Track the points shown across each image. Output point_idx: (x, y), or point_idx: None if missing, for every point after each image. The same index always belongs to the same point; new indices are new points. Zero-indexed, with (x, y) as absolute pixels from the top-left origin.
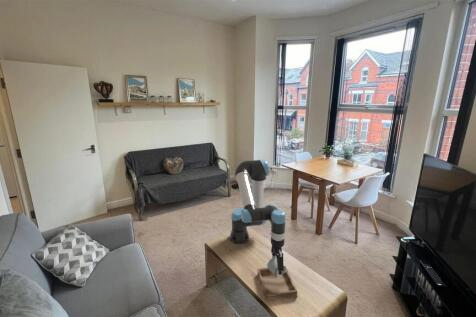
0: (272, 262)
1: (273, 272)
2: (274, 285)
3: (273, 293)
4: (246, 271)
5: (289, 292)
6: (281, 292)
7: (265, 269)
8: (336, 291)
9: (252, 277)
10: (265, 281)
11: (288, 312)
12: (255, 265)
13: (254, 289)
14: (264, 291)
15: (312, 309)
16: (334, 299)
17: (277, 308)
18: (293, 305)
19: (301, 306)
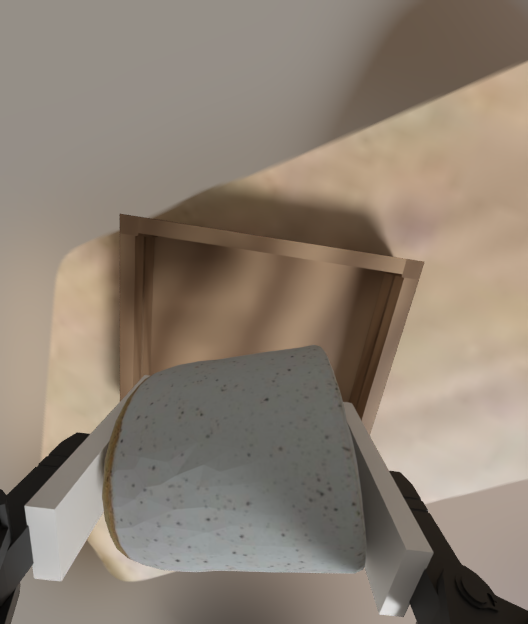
0: (268, 481)
1: (158, 381)
2: (244, 330)
3: (126, 285)
4: (463, 177)
5: (120, 395)
6: (126, 345)
7: (388, 326)
8: (143, 575)
9: (381, 206)
10: (298, 284)
11: (52, 324)
12: (486, 276)
13: (265, 178)
14: (158, 220)
15: (59, 443)
16: (102, 548)
17: (84, 274)
18: (93, 370)
19: (82, 405)
